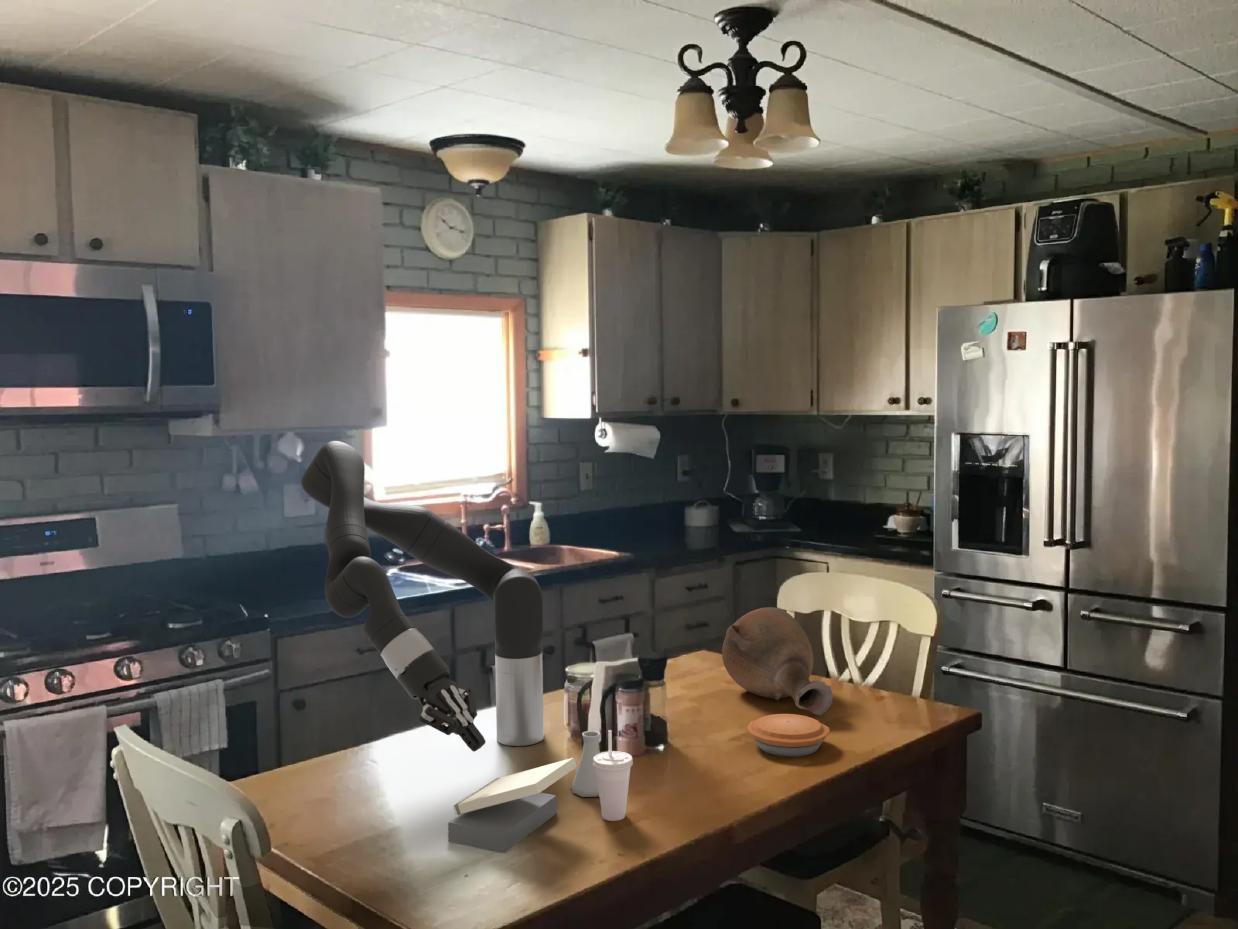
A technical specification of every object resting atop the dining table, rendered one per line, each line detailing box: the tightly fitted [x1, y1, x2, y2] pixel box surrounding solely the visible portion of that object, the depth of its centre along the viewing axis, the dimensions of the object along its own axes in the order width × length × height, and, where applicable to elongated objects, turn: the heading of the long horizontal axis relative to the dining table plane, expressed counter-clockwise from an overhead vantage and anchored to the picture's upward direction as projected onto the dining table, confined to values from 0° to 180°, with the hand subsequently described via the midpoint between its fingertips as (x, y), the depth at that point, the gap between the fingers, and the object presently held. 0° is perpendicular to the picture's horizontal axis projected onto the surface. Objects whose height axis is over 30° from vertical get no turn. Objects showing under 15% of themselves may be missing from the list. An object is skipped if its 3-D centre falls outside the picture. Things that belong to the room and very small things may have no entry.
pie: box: [747, 713, 831, 758], centre depth 201 cm, size 16×16×5 cm
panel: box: [452, 757, 578, 816], centre depth 165 cm, size 12×2×16 cm
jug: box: [721, 606, 834, 717], centre depth 230 cm, size 20×20×30 cm
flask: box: [571, 730, 601, 798], centre depth 180 cm, size 7×7×10 cm
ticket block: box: [447, 792, 558, 854], centre depth 166 cm, size 16×10×3 cm, turn 154°
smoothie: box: [593, 729, 634, 822], centre depth 169 cm, size 6×6×14 cm
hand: (479, 747), depth 167 cm, fingers closed
